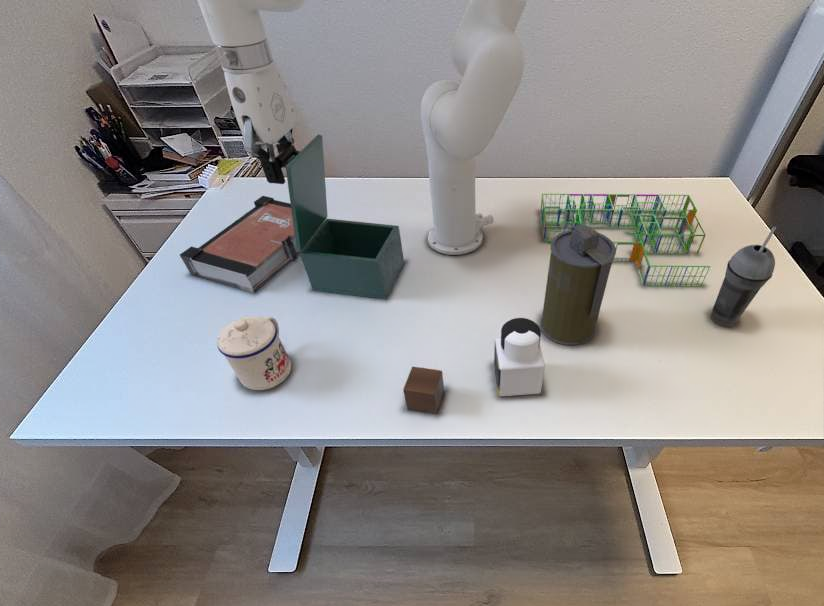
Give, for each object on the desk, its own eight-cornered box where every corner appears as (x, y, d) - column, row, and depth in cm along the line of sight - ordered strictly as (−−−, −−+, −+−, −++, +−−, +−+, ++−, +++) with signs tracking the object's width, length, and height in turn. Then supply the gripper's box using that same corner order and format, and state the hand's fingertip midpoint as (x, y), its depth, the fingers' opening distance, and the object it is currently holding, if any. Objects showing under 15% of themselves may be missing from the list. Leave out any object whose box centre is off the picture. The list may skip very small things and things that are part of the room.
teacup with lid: (280, 395, 76) (253, 345, 67) (229, 389, 77) (196, 339, 68) (307, 344, 84) (287, 294, 75) (261, 339, 84) (235, 289, 76)
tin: (404, 262, 100) (398, 225, 93) (385, 299, 92) (378, 262, 85) (336, 254, 102) (326, 218, 95) (312, 290, 94) (299, 253, 87)
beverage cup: (742, 310, 89) (796, 216, 74) (743, 335, 84) (801, 240, 69) (703, 303, 90) (748, 208, 75) (702, 326, 86) (750, 231, 71)
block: (415, 386, 77) (412, 366, 73) (444, 390, 76) (442, 370, 73) (407, 409, 74) (402, 389, 70) (436, 413, 73) (434, 394, 69)
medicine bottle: (493, 365, 80) (495, 313, 71) (534, 363, 80) (540, 310, 71) (498, 397, 75) (500, 346, 66) (541, 394, 76) (549, 343, 66)
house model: (681, 211, 113) (688, 193, 109) (718, 286, 94) (727, 266, 90) (539, 210, 114) (541, 191, 110) (547, 284, 95) (550, 264, 91)
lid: (322, 135, 82) (295, 127, 82) (290, 167, 74) (260, 158, 74) (327, 216, 95) (304, 210, 95) (300, 251, 87) (275, 244, 87)
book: (257, 293, 93) (247, 273, 89) (191, 274, 97) (179, 254, 94) (329, 228, 109) (324, 209, 105) (270, 214, 113) (262, 195, 109)
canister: (529, 319, 88) (539, 225, 72) (572, 301, 91) (590, 208, 76) (563, 355, 81) (582, 260, 66) (608, 334, 85) (636, 239, 70)
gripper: (238, 74, 63) (282, 200, 76) (293, 40, 73) (323, 156, 87) (188, 71, 63) (241, 196, 77) (250, 38, 74) (286, 153, 88)
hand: (284, 174), depth 82 cm, fingers closed on lid, 5 cm apart
